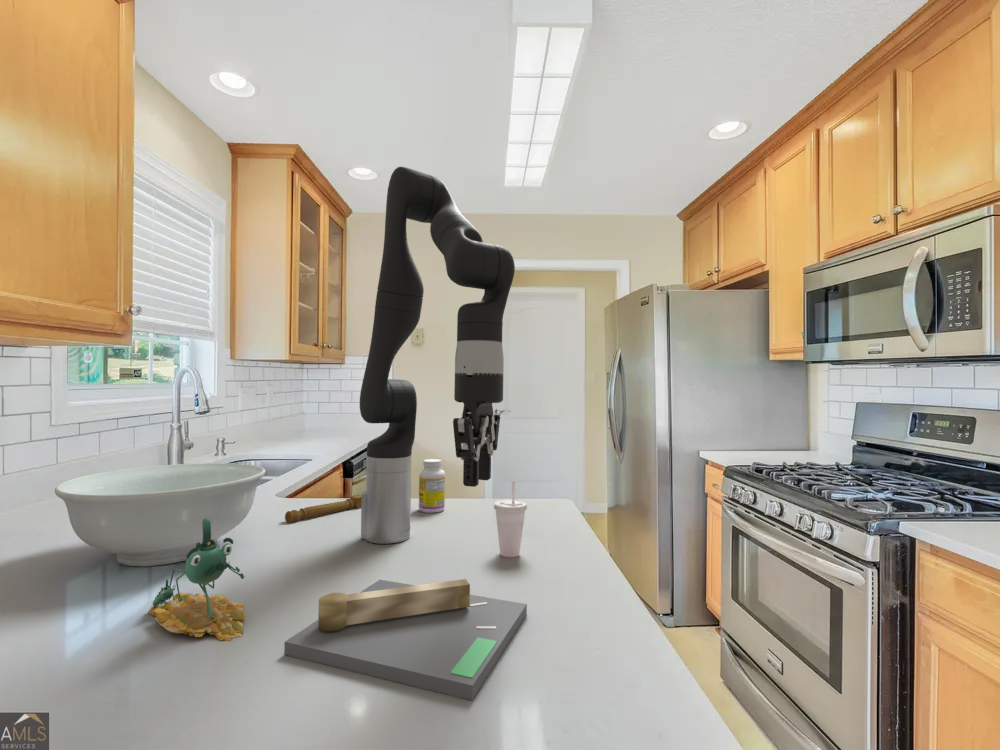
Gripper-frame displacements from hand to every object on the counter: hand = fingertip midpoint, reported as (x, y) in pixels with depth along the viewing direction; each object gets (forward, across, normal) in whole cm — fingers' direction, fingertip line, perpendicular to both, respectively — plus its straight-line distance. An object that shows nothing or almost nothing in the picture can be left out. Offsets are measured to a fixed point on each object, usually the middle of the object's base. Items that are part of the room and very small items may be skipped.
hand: (477, 482), depth 75 cm
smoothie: (+18, -20, -1) cm, 27 cm away
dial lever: (+16, +13, -6) cm, 21 cm away
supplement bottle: (+18, -44, -30) cm, 56 cm away
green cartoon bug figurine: (+18, +20, -32) cm, 42 cm away
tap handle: (+18, -35, -51) cm, 64 cm away
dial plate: (+17, +13, -3) cm, 22 cm away
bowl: (+18, +3, -61) cm, 64 cm away
